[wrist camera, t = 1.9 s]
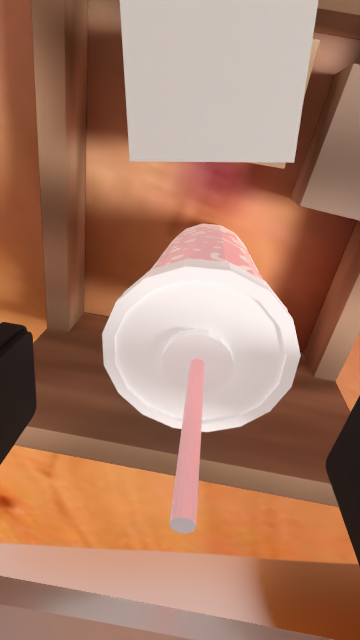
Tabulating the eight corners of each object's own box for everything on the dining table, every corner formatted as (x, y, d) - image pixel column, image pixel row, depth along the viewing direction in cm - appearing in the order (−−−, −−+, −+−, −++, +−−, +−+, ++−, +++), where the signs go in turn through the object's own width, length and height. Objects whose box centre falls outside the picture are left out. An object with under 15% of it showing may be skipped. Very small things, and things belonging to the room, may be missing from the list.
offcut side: (333, 75, 14) (353, 63, 12) (397, 91, 14) (429, 82, 12) (289, 197, 16) (299, 206, 14) (344, 211, 16) (362, 221, 14)
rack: (58, -54, 13) (-206, -376, 5) (473, 15, 12) (920, -205, 5) (65, 325, 21) (-28, 436, 13) (316, 372, 21) (377, 514, 13)
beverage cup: (281, 288, 18) (412, 585, 6) (185, 330, 20) (134, 623, 8) (233, 184, 16) (283, 320, 4) (130, 243, 18) (-60, 461, 6)
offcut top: (142, 29, 11) (119, -5, 9) (296, 24, 11) (320, -13, 8) (147, 157, 13) (129, 161, 11) (278, 158, 13) (294, 162, 10)
